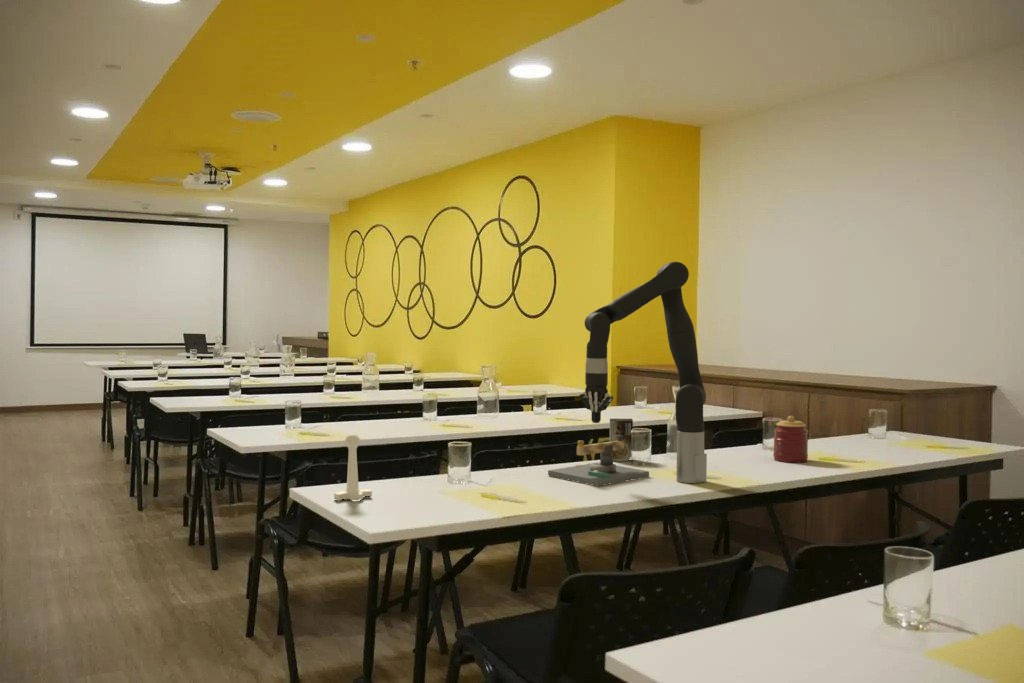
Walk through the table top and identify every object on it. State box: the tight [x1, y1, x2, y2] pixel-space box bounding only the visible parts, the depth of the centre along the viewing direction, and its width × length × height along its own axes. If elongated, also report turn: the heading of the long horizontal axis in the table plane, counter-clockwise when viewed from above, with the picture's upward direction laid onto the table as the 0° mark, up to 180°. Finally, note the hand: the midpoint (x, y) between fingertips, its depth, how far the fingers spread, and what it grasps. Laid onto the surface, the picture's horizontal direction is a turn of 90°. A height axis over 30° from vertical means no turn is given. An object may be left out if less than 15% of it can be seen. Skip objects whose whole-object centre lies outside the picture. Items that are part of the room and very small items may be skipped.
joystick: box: [333, 433, 373, 501], centre depth 261 cm, size 11×8×20 cm
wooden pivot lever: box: [576, 435, 624, 473], centre depth 298 cm, size 22×9×12 cm, turn 131°
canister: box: [773, 415, 809, 464], centre depth 335 cm, size 13×13×18 cm
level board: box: [547, 461, 650, 486], centre depth 300 cm, size 24×26×4 cm
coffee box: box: [609, 418, 634, 462], centre depth 334 cm, size 9×6×16 cm
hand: (595, 422), depth 288 cm, fingers closed
